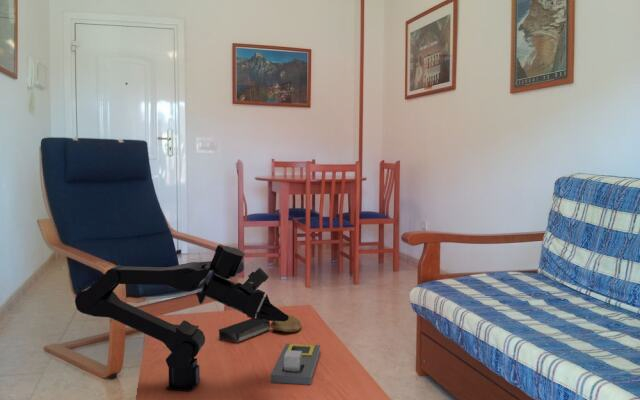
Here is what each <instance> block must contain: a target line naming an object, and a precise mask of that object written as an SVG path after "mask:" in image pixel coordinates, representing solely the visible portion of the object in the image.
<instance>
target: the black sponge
mask: <svg viewBox="0 0 640 400" xmlns="http://www.w3.org/2000/svg"><path fill="white" fill-rule="evenodd" d="M270 324H271V323H270V321H264V320H256V317H255V319H252V318H249V319H247V320H244V321H241V322H237V323H234V324H230V325H229V326H225V327H223V328H219V329H218V336H219V339H221V340H226V341H230V342H236V343H239V342H242V341H244V340H246V339H249V338H252V337H255V336H256V335H259V334H261V333H264V332H267V331H269V330H270V329H271V326H270Z"/></svg>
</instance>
